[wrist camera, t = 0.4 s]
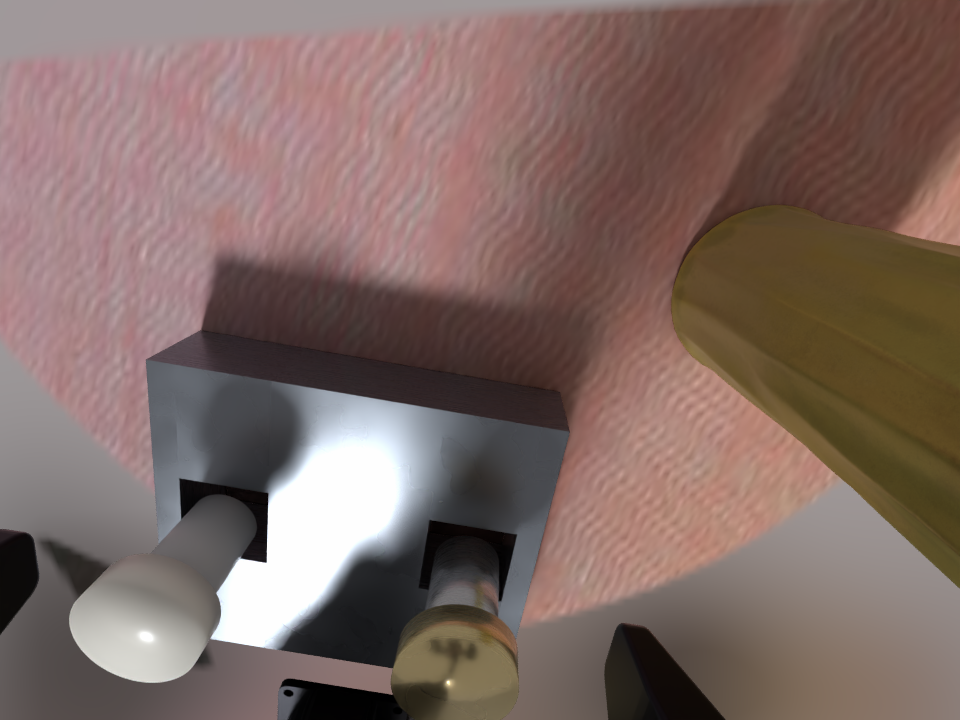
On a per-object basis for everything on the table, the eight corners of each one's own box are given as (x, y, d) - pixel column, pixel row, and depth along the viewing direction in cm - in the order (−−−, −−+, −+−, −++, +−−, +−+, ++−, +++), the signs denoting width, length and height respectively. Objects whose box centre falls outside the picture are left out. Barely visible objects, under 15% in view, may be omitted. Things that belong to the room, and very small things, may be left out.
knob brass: (505, 606, 20) (505, 740, 15) (412, 591, 20) (384, 720, 15) (523, 531, 18) (530, 651, 14) (424, 514, 18) (398, 629, 14)
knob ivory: (272, 568, 20) (200, 691, 15) (177, 552, 19) (76, 671, 15) (274, 489, 18) (197, 597, 14) (173, 472, 18) (61, 575, 14)
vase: (661, 374, 20) (1001, 824, 6) (678, 206, 17) (1258, 335, 4) (827, 373, 19) (1566, 843, 6) (865, 201, 17) (2172, 326, 4)
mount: (503, 621, 24) (503, 686, 21) (207, 573, 24) (165, 631, 21) (560, 392, 20) (569, 431, 17) (200, 330, 20) (146, 359, 17)
